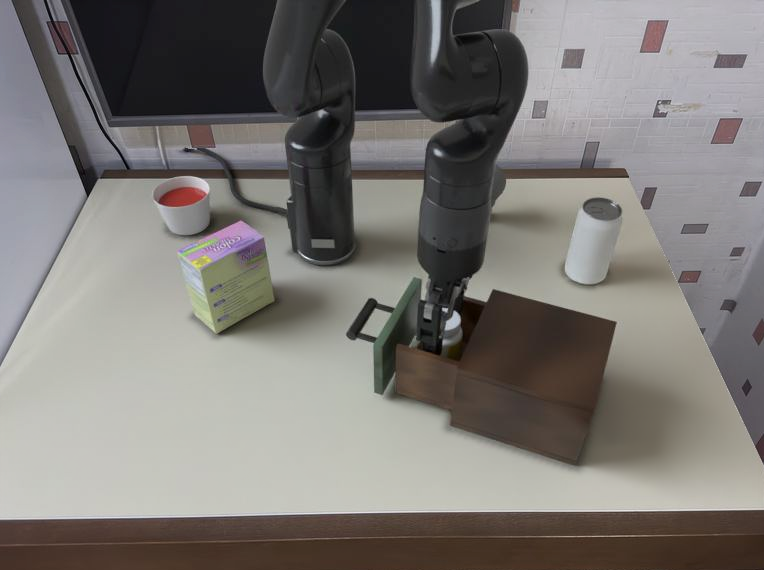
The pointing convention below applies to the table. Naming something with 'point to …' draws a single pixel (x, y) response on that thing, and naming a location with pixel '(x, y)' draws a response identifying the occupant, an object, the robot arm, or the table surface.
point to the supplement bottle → (452, 337)
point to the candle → (184, 204)
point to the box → (227, 275)
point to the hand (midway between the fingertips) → (442, 333)
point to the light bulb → (497, 185)
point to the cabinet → (532, 375)
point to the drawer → (413, 349)
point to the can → (593, 240)
